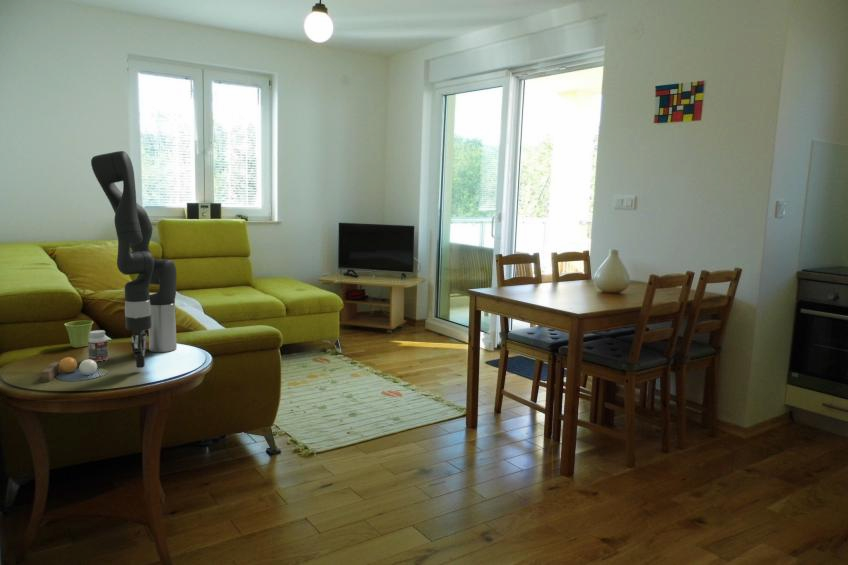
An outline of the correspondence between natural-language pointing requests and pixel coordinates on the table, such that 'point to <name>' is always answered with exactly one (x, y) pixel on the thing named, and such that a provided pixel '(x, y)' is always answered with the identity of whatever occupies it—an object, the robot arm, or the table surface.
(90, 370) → the cue ball
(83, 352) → the table surface
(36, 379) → the table surface
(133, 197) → the robot arm
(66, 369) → the object ball
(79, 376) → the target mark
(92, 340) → the pill bottle
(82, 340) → the plant pot
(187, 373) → the table surface
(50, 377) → the stopper wall
